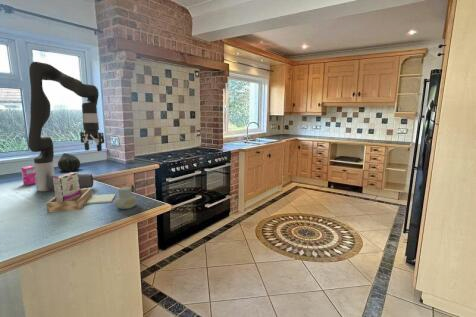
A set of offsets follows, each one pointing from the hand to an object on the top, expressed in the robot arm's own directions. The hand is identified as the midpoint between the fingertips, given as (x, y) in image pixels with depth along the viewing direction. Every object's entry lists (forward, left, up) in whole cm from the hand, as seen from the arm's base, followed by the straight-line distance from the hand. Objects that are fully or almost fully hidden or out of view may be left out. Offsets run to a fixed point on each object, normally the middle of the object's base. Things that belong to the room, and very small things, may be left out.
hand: (93, 150), depth 148 cm
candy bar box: (-10, -15, -26) cm, 32 cm away
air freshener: (+19, -25, -26) cm, 41 cm away
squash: (-38, +73, -26) cm, 86 cm away
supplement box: (-49, +35, -26) cm, 65 cm away
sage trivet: (+4, -9, -26) cm, 28 cm away
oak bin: (-10, -12, -26) cm, 30 cm away
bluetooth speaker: (-17, +13, -26) cm, 34 cm away
